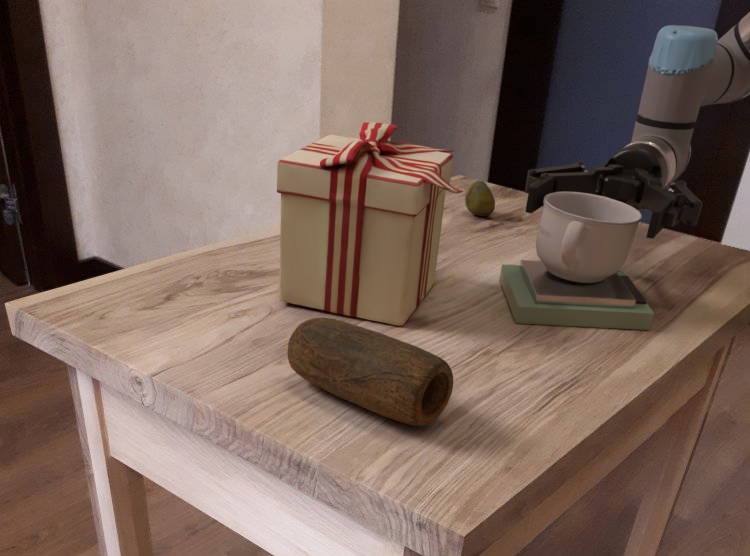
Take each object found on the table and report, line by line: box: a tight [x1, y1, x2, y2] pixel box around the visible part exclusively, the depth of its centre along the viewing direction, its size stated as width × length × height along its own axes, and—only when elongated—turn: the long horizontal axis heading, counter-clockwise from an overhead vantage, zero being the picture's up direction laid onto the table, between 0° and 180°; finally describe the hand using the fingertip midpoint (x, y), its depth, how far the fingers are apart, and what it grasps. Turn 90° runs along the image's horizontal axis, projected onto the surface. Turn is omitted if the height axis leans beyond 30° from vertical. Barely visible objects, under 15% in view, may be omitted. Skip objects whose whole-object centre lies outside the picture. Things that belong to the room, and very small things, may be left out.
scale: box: [499, 264, 655, 331], centre depth 92 cm, size 15×13×2 cm
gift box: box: [276, 121, 464, 327], centre depth 87 cm, size 17×18×17 cm
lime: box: [464, 179, 496, 217], centre depth 117 cm, size 4×5×5 cm
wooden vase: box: [287, 317, 454, 427], centre depth 69 cm, size 15×7×7 cm, turn 55°
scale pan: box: [519, 259, 636, 309], centre depth 91 cm, size 11×11×1 cm
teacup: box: [535, 192, 643, 283], centre depth 89 cm, size 14×11×8 cm
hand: (589, 212), depth 86 cm, fingers open, 13 cm apart
